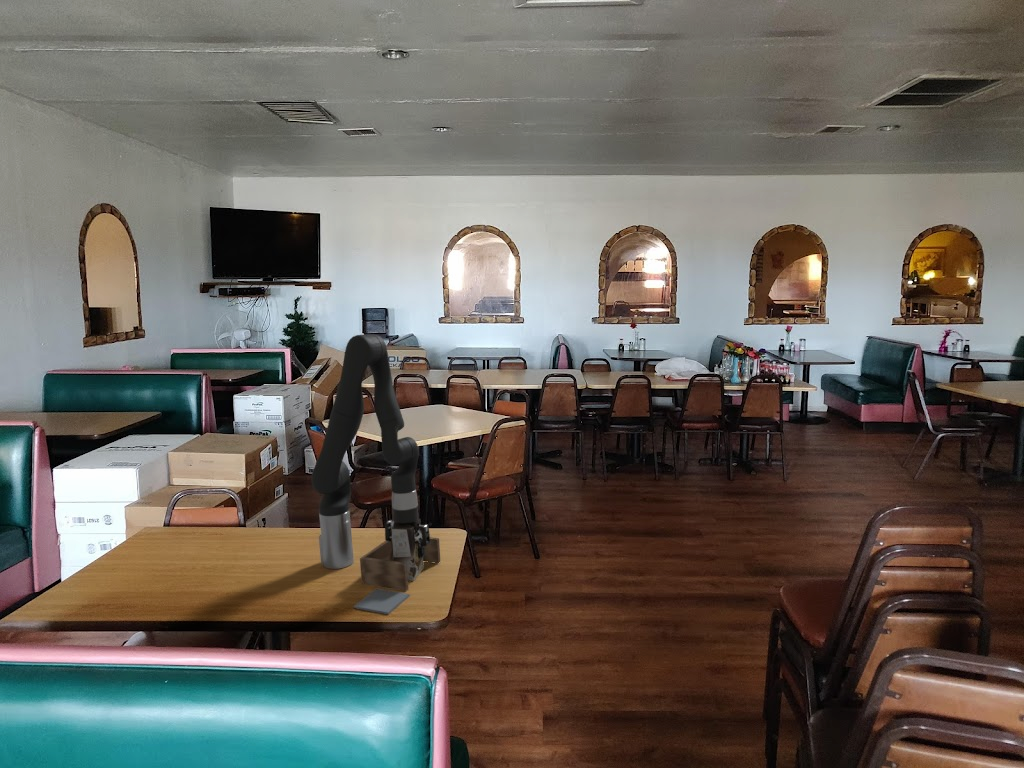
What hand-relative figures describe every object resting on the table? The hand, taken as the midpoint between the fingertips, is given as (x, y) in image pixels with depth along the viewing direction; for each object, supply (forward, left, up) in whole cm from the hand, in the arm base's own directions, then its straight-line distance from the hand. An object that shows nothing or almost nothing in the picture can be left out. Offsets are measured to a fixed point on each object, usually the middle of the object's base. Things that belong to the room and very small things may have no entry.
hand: (408, 556), depth 208 cm
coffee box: (0, 0, -6) cm, 6 cm away
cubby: (-3, 0, -6) cm, 6 cm away
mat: (+2, -18, -6) cm, 19 cm away
